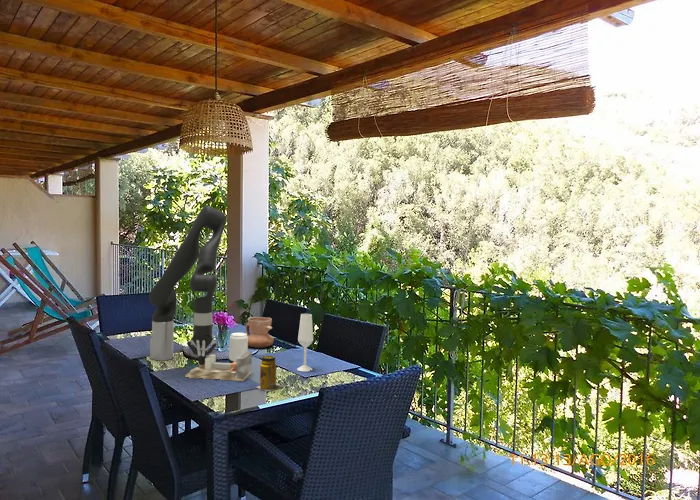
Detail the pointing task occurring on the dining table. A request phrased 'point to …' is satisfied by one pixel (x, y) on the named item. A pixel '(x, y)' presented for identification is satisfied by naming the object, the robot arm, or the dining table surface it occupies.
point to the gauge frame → (226, 370)
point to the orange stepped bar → (233, 367)
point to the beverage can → (237, 345)
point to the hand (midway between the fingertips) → (202, 364)
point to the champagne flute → (305, 337)
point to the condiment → (268, 374)
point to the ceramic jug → (259, 332)
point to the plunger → (215, 364)
